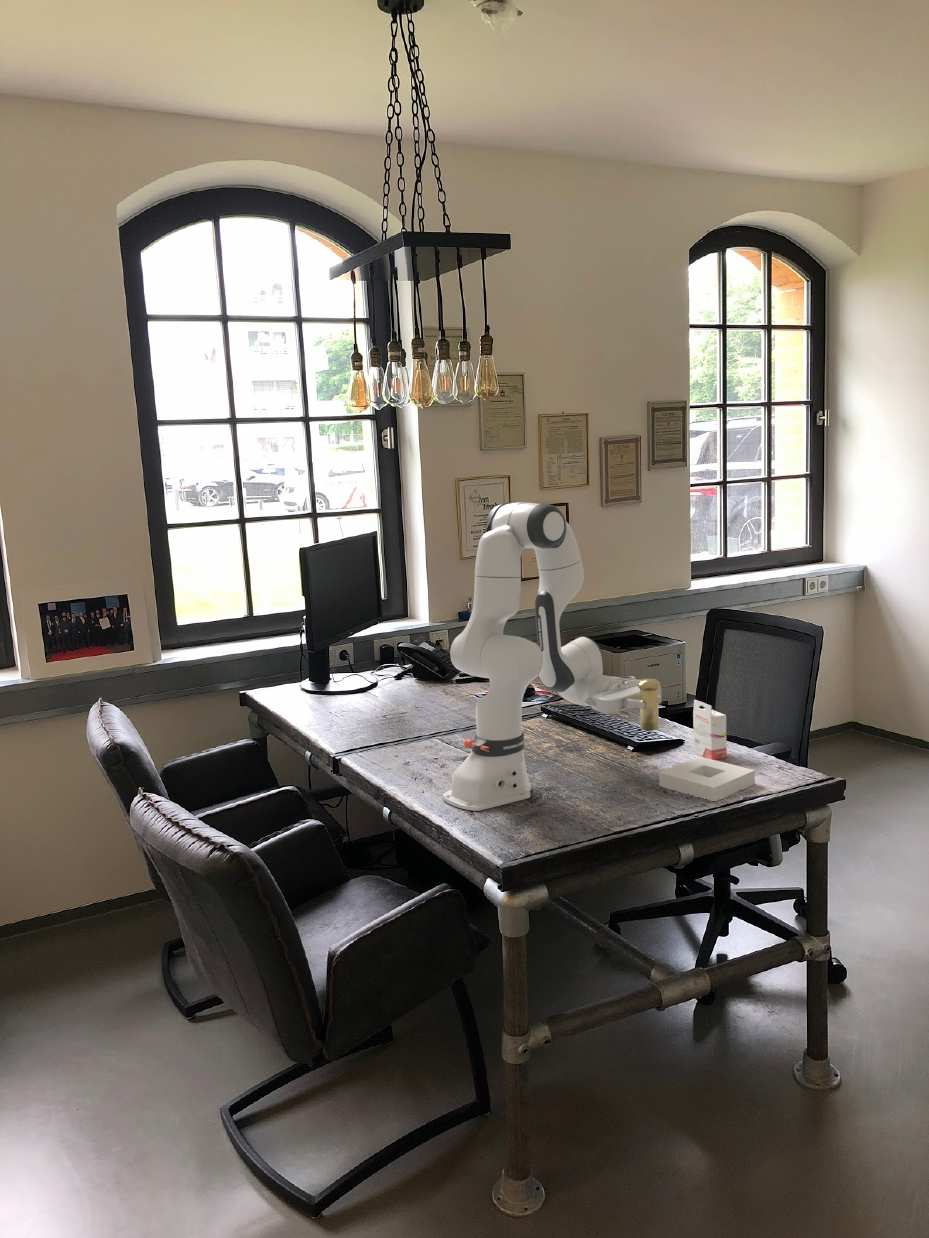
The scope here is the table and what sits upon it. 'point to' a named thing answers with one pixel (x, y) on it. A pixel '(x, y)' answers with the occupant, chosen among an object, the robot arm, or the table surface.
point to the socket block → (707, 778)
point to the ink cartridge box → (709, 732)
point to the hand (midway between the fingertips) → (652, 702)
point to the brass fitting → (649, 704)
